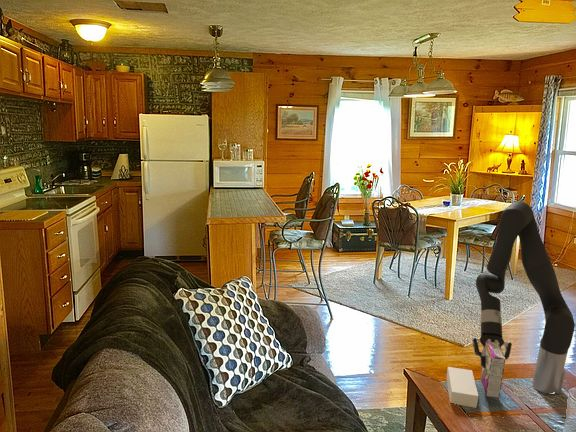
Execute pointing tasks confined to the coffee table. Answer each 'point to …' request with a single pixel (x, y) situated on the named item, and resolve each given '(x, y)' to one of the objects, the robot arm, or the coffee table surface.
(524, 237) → the robot arm
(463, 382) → the plain white box
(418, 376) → the coffee table surface
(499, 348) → the candy bar box
